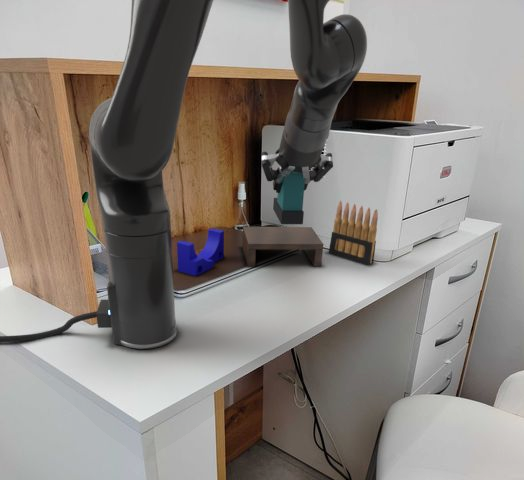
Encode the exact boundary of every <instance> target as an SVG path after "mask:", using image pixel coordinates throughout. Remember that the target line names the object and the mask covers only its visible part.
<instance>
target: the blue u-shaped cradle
mask: <svg viewBox="0 0 524 480" xmlns="http://www.w3.org/2000/svg"><path fill="white" fill-rule="evenodd" d="M207 232H208V233H207V238H206V242H205V245H204V247H203V249H202V250H201V251H200V253H198V254H197V253H196V250H195V244H194V242H193V243H192V242H188V241H185V240H179V241H178V242H176V250H177V251H176V253H177V254H176V255H177V271H178V272H180V273H183V274H188V275H190V276H193V277H196V276H199V275H202V274H203V273H205V272H208V271H209V270H212V269H213V268H214V263H216V262H218V261H221V260H222V259H225V230H221V229H217V228H210V229H208V231H207Z"/></svg>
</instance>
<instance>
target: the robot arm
mask: <svg viewBox="0 0 524 480" xmlns="http://www.w3.org/2000/svg"><path fill="white" fill-rule="evenodd" d="M330 1H331V0H287V4H288V5H287V7H288V9H287V10H288V11H287V12H288V25H289V26H288V28H289V29H288V30H289V50H290V51H289V52H290V59H291V65H292V68H293V71H294V74H295V76H296V77H297V80H298V82H297V83H296V86H295V88H294V91H293V94H292V100H291V103H290V108H289V110H288V113H287V115H286V118H285V121H284V127H283V130H282V135H281V139H280V144H279V147H278V149H276V151H275V153H271V154H269V152H267V151H262V152H260V157H261V167H262V170H263V173H264V175H265V178H266V181H267V182H272V188H273V191H275V193H277V194H278V193H280V190H281V186H282V181H283V179H284V178H287V177H288V175H289V174H290V173H293V172H297V173H303V179H305V185H304V192H305V191H306V190H307V188H308V187H309V186H308V185H309V184H310V183H311V181H313V182H314V183H319V182H320V181H321V180H322V179H323V178H324V177H325V176H326V175H327V174H328V172H330V170H331V169H333V167H334V160H333V153H331V152H327V153H326V154H325V155H323V151H324V149H325V148H324V147H325V145H326V142H327V141H328V138H329V136H330V131H331V128H332V127H331V126H332V122H333V119H334V116H335V113H336V111H337V108H338V104H339V103H340V101H341V99H342V98H343V96H344V95H345V94H346V93H347V92H348V90H349V88H350V87H351V86H352V83H353V82H354V80H355V79H356V78H357V76H358V74H359V72H360V71H361V69H362V66H363V64H364V63H365V59H366V55H367V51H368V37H367V32H366V29H365V27H364V25H363V23H362V22H361V20H359V18H358V17H356V16H354V15H352V14H346V13H345V14H339V15H337V16H334V17H332V18H330V19H329V20H326V21H325V22H324V19H325V18H324V16H325V9H326V7H327V5H328V3H329V2H330ZM213 3H214V0H131V10H130V11H131V12H130V15H131V16H130V28H129V30H130V31H129V37H128V44H127V49H126V52H125V57H124V60H123V64H122V67H121V70H120V73H119V76H118V79H117V82H116V86H115V88H114V91H113V94H112V96H111V97H110V98H108V99H106V100H104V101H103V102H101V103H100V104H99V105H98V106H97V107H96V108H95V110H94V111H93V113H92V114H91V115H92V116H91V118H90V121H89V128H88V139H89V148H90V155H91V164H92V170H93V178H94V185H95V192H96V193H95V194H96V199H97V204H98V207H99V212H100V218H101V225H102V231H103V233H102V234H103V240H104V247H105V249H104V250H105V256H106V257H105V258H106V265H107V275H108V282H107V285H106V292H107V299H100V301H99V304H98V307H97V310H96V311H95V310H94V311H91V312H86V313H82V314H79V315H76V316H73V317H72V318H70V319H68V320H67V321H66V322H65V323H64V324H63V325H62V326H60V327H57V328H54V329H51V330H48V331H43V332H42V331H41V332H38V333H31V334H30V333H29V334H17V335H0V343H12V342H13V343H15V342H26V341H27V342H28V341H36V340H40V339H44V338H49V337H53V336H57V335H60V334H63V333H64V332H67V331H68V330H69V329H70V328H71V327H73V326H74V325H75V324H76V323H79V322H82V321H87V320H90V319H96V323H97V328H98V329H109V328H110V329H111V333H112V341H113V345H121V346H124V347H127V348H130V349H139V350H147V349H154V348H158V347H162V346H165V345H167V344H169V343H171V342H173V340H174V339H175V338H176V336H177V325H176V324H177V323H176V322H177V321H176V306H175V303H176V302H175V287H174V286H175V284H174V265H173V246H172V245H173V244H172V224H171V210H170V209H171V208H170V205H169V203H168V200H167V196H166V193H165V187H164V179H163V178H164V177H163V170H164V169H165V168H166V167H167V165H168V163H169V161H170V159H171V156H172V154H173V149H174V145H175V140H176V135H177V129H178V125H179V124H178V123H179V119H180V114H181V110H182V105H183V104H182V103H183V99H184V94H185V90H186V86H187V81H188V77H189V74H190V71H191V69H192V68H191V67H192V64H193V63H194V62H193V61H194V59H195V56H196V54H197V51H198V49H199V46H200V43H201V40H202V37H203V34H204V31H205V27H206V24H207V22H208V18H209V15H210V12H211V8H212V6H213ZM275 162H276V163H277V167H276V168H275V169H273V166H274V163H275ZM311 169H312V170H311Z"/></svg>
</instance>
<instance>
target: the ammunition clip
mask: <svg viewBox="0 0 524 480" xmlns="http://www.w3.org/2000/svg"><path fill="white" fill-rule="evenodd" d="M349 204H350V203H349V202H346V204H345V206H344V209H343V203H342V200H340V201H339V202H338V205H337V207H336V214H335V218H334V221H333V229H332V231H331V236H330V242H329V247H328V248H329V249H328V254H330V255H333V256H336V257H339V258H343V259H346V260H349V261H353V262H356V263H359V264H363V265H366V266H370V265H372V264H374V259H375V251H376V244H377V243H376V242H377V241H376V239H377V238H376V237H377V232H378V219H379V218H378V217H379V216H378V215H379V213H378V212H379V211H378V209H377V208H376V209H375V210H374V211H373V214H372V216H371V208H370V207H367V210H366V212H365V215H364V207H363V205H360V207H359V209H358V213H357V205H356V204H355V203H354V204H353V206H352V208H351V211H350V205H349Z"/></svg>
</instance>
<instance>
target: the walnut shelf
mask: <svg viewBox="0 0 524 480" xmlns="http://www.w3.org/2000/svg"><path fill="white" fill-rule="evenodd" d="M320 238H321V237H319V235H318V234H317V233H316V231H315V230H314V228H313V227H312V226H243V227H242V245H241V246H242V252H243V255H244V259H245V263H246V265H247V267H248V268H249V267H256V256H257V254H256V252H257V250H304V252H305V254H306V256H307V257H308V259H309V261H310V262H311V264H312V265H313V267H322V261H323V254H324V243H323V241H322V240H321V239H320Z"/></svg>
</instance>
